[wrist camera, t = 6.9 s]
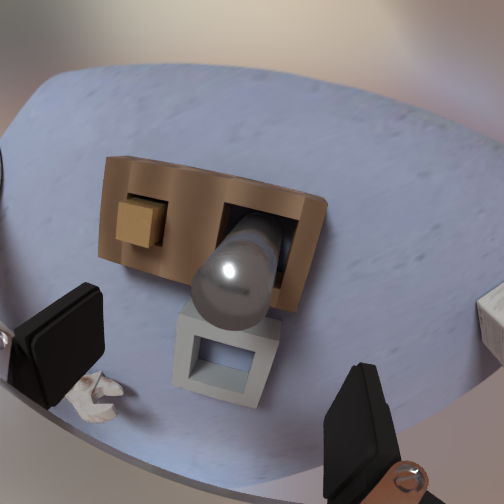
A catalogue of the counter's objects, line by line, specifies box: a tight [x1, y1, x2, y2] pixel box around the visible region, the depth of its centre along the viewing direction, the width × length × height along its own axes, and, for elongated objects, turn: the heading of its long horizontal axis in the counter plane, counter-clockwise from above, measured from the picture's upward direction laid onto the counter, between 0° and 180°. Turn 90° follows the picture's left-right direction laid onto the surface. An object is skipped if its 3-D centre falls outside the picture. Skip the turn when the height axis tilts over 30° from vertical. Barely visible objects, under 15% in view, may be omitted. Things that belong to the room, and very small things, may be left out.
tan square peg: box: [116, 195, 169, 248], centre depth 24 cm, size 3×3×5 cm
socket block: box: [98, 156, 328, 313], centre depth 25 cm, size 18×9×4 cm, turn 77°
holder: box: [171, 297, 282, 409], centre depth 28 cm, size 9×9×4 cm
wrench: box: [65, 371, 124, 423], centre depth 34 cm, size 8×2×30 cm
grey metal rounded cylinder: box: [191, 212, 282, 331], centre depth 20 cm, size 4×4×12 cm
